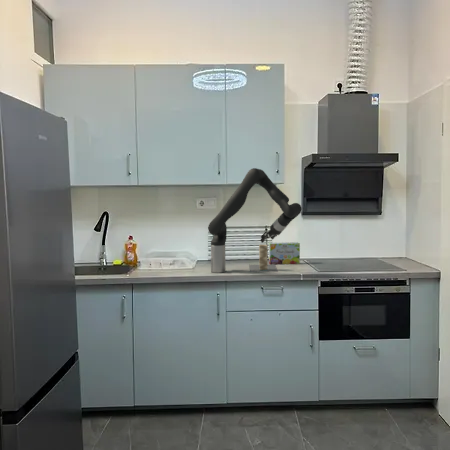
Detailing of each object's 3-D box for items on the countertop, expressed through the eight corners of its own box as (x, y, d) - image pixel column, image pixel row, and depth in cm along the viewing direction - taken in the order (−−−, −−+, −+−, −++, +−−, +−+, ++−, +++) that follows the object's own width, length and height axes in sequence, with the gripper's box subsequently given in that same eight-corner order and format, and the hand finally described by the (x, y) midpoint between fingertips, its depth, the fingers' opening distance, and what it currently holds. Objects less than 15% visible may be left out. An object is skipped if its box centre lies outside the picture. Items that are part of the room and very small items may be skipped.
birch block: (259, 270, 274) (259, 245, 273) (259, 269, 279) (259, 244, 278) (267, 270, 274) (267, 245, 272) (267, 269, 279) (266, 244, 277)
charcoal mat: (249, 272, 270) (249, 271, 270) (249, 265, 298) (249, 264, 298) (278, 272, 269) (278, 271, 269) (275, 265, 297) (275, 264, 297)
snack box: (270, 264, 300) (270, 243, 299) (268, 263, 305) (268, 242, 304) (299, 264, 301) (299, 242, 300) (298, 262, 307) (297, 241, 306)
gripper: (284, 218, 262) (271, 232, 274) (267, 223, 254) (255, 237, 266) (290, 228, 260) (277, 242, 272) (273, 233, 251) (261, 247, 263)
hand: (266, 239), depth 269 cm, fingers open, 8 cm apart
